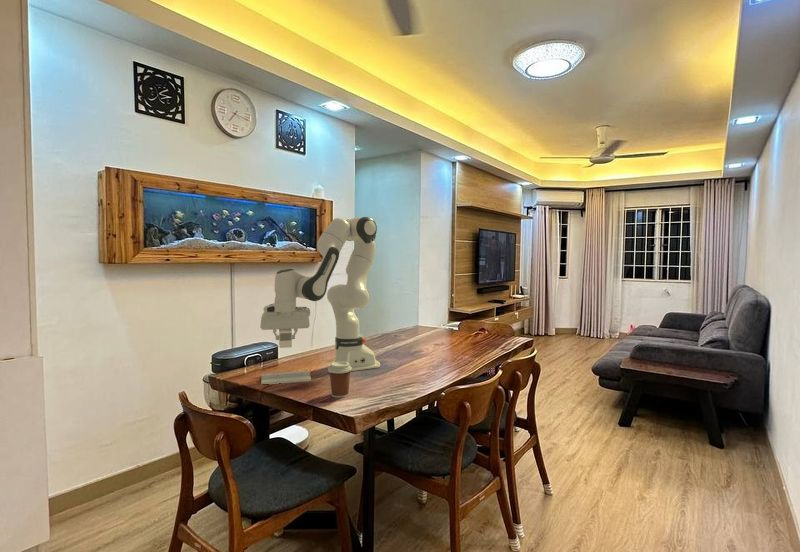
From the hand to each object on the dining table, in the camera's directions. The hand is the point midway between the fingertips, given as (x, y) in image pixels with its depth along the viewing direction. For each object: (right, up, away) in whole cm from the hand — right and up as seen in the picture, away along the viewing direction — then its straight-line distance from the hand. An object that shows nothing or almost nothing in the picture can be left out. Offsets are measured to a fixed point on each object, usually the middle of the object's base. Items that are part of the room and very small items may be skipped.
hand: (285, 339), depth 179 cm
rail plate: (0, -17, +1) cm, 17 cm away
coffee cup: (+26, -18, -19) cm, 37 cm away
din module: (0, -3, 0) cm, 3 cm away
